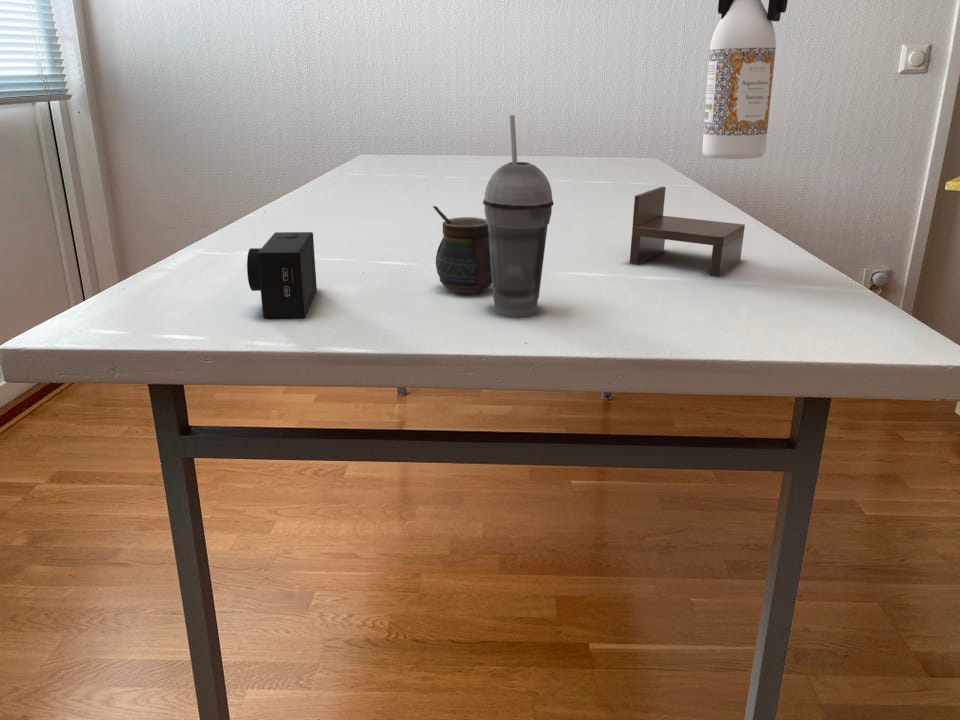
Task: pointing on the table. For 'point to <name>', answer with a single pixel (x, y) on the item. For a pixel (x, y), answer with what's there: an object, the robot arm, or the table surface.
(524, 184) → the beverage cup
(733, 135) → the bath foam
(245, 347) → the table surface
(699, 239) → the chair
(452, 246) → the mate gourd
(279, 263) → the digital camera
